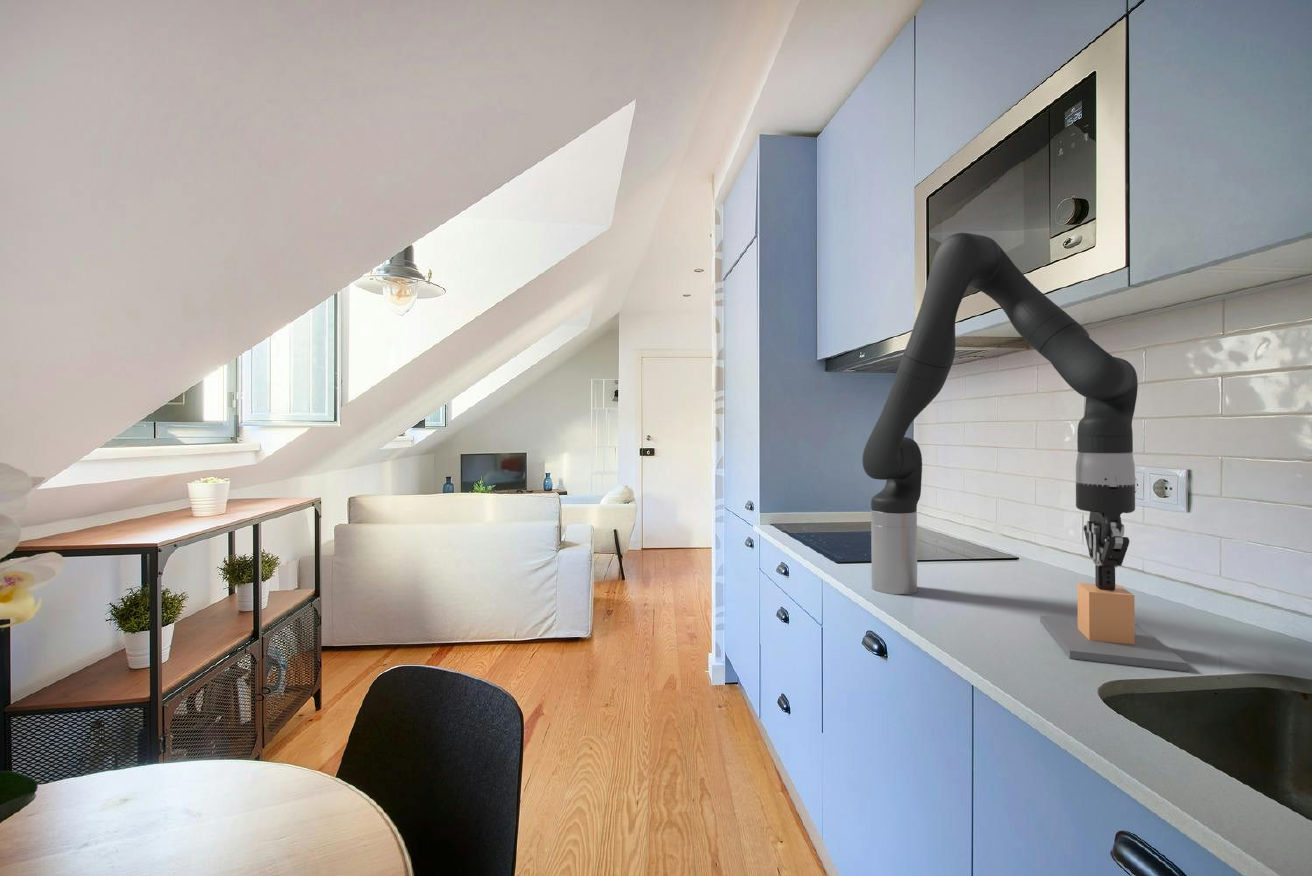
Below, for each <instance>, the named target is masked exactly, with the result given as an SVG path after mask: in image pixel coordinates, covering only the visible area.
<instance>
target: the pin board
mask: <svg viewBox="0 0 1312 876" xmlns="http://www.w3.org/2000/svg"><path fill="white" fill-rule="evenodd" d="M1039 621H1040V623H1041V625H1042V626H1043V627H1044V629H1045V630H1046V631H1047V632H1048V634H1050V636H1051V637H1052V638H1053V640H1054V641H1055V642H1056V643H1057V645H1058V646H1059V647H1060V648H1061V650H1063V652H1064V654H1066V656H1067V657H1068V659H1071V660H1081V661H1082V660H1083V661H1090V662H1096V663H1097V662H1098V663H1106V664H1107V663H1108V664H1114V665H1115V664H1116V665H1123V666H1124V665H1125V666H1134V667H1144V668H1151V669H1161V670H1171V671H1180V672H1186V673H1187V672H1188V668H1189V667H1188V662H1187V661H1185V660H1184V659H1183V658H1182V657H1180V656H1179V655H1178V654H1176V653H1175V652H1174V651H1173V650H1171V648H1170V649H1169V647H1168V646H1166V645H1165V644H1163V642H1161V641H1160V640H1158V638H1156V637H1155V636H1153V635H1152V634H1151V633H1149V632H1148V631H1147V630H1145V629H1144V628H1143V627H1141V625H1139V624H1138V623H1134V630H1135V645H1134V644H1124V643H1114V642H1104V641H1094V640H1089V639H1088V638H1087V637H1086V636H1085V635H1084V634H1083V633H1082V632H1081V631H1080V630H1079V629H1078V617H1067V616H1066V617H1065V616H1053V615H1046V614H1045V615H1043V614H1042V615H1041V614H1040V615H1039Z"/></svg>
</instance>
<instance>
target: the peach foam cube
mask: <svg viewBox="0 0 1312 876" xmlns="http://www.w3.org/2000/svg"><path fill="white" fill-rule="evenodd" d="M1077 618H1078V629H1079V630H1080V631H1081V632H1082V633H1083V634H1084V635H1085V636H1086V637H1087V638H1088V639H1089V640H1094V641H1104V642H1114V643H1124V644H1134V645H1135V630H1134V624H1135V594H1133V593H1132V592H1130V591H1129V590H1127V589H1126V588H1124V587H1123V586H1121V585H1115V590H1114V591H1112V590H1100V589H1099V588H1097V587H1096V584H1095V583H1084V582H1077Z"/></svg>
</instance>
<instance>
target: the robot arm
mask: <svg viewBox="0 0 1312 876" xmlns="http://www.w3.org/2000/svg"><path fill="white" fill-rule="evenodd" d="M968 287H972V288H975V289H977V290H979V291H980V292H981V293H983V294H985V295H986V296H988V297H989V298H991V299H992V300H993V301H994V302H995V303H996V304H998V306H999V307H1000V308H1001V309H1002V310H1003V312H1004V313H1005V315H1006V316H1007V318H1008V320H1009V321H1010V323H1011V325H1012V326H1013V328H1014V329H1015V331H1016V332H1017V333H1018V334H1019V335H1020V337H1022V339H1023V340H1025V341H1026V343H1027V344H1028V345H1030V346H1031V347H1032V348H1033V349H1034V350H1036V351H1037V352H1038V353H1039V354H1040V355H1041V356H1042V357H1043V358H1045V359H1046V360H1047V361H1048V362H1049V363H1050V364H1051V365H1052V366H1053V368H1054V369H1055V370H1056V372H1057V373H1058V374H1059V376H1060V377H1061V378H1062V379H1063V380H1064V382H1066V384H1068V385H1069V387H1071V388H1072V389H1073V390H1074V391H1075V392H1076V393H1077V394H1079V395H1080V396H1082V397H1084V398H1085V406H1084V414H1083V417H1082V418H1081V419H1080V420H1079V422H1078V426H1077V432H1076V433H1077V435H1076V436H1077V440H1076V441H1077V442H1076V443H1077V456H1076V462H1075V507H1076V508H1077V509H1078V510H1079V511H1082V512H1083V511H1084V512H1089V515H1088V516H1089V518H1088V520H1087V521H1086V524H1084V525H1083V531H1084V532H1083V533H1084V536H1085V540H1086V545H1087V549H1088V553H1089V554H1088V555H1089V557H1090V558H1091V559H1092V563H1093V565H1095V566H1094V567H1095V572H1094V573H1095V577H1094V579H1095V583H1094V584H1096V587H1097V588H1099V589H1100V590H1112V591H1114V590H1115V586H1116V568H1118V567H1121V566H1122V565H1123V562H1124V560H1125V557H1126V554H1127V551H1128V548H1129V546H1130V539H1129V537H1128V536H1125V525H1124V524H1123V522H1122V518H1121V514H1131V513H1134V512H1135V511H1136V467H1135V466H1136V465H1135V461H1134V453H1133V451H1134V449H1133V448H1134V447H1133V446H1134V445H1133V444H1134V441H1133V439H1134V438H1133V437H1134V436H1133V419H1134V414H1135V411H1136V410H1135V409H1136V403H1137V398H1138V383H1139V382H1138V381H1139V380H1138V376H1137V375H1138V373H1137V371H1136V369H1135V367H1134V365H1132V364H1131V363H1130V362H1129V361H1128V360H1126V359H1124V358H1121V357H1116V356H1113V355H1111V354H1110V353H1109V352H1108V351H1107V350H1105V349H1104V348H1102V346H1100V345H1099V344H1097V343H1096V342H1095V341H1094V340H1093V339H1091V338H1090V334H1089V333H1088V331H1087V330H1086V328H1084V327H1083V326H1082V324H1080V323H1079V322H1077V320H1075V319H1074V318H1073V317H1072V316H1071V315H1069V314H1068V313H1067V312H1066V311H1065V310H1063V308H1061V307H1059V305H1058V304H1056V303H1055V302H1054V301H1052V300H1051V299H1050V298H1049V297H1048V296H1046V295H1045V294H1044V293H1043V292H1042V291H1041V290H1040V289H1038V288H1037V287H1036V286H1035V285H1034V284H1033V283H1032V282H1031V281H1030V280H1029V279H1028V278H1027V277H1026V276H1025V275H1024V273H1022V271H1020V269H1019V268H1018V267H1017V265H1015V263H1014V262H1013V261H1012V260H1011V258H1010V256H1008V254H1007V253H1006V251H1004V250H1003V248H1002V247H1001V246H1000V245H999V243H997V242H996V240H995V239H993V238H992V237H989V236H985V235H980V234H975V233H969V232H957V233H953V234H951V235H950V236H948V237H947V238H946V239H944V240H943V241H942V242H941V244H940V245H939V246H938V248H937V250H936V252H935V254H934V256H933V259H932V263H931V266H930V270H929V274H928V278H927V282H926V286H925V290H924V294H923V297H922V301H921V304H920V308H919V311H918V313H917V315H916V318H915V322H914V325H913V329H912V331H911V333H910V337H909V339H908V341H907V344H906V346H905V349H904V352H903V354H902V357H901V358H900V362H899V365H898V368H897V371H896V374H895V376H894V380H893V384H892V385H891V388H890V390H889V394H888V396H887V398H886V400H885V403H884V405H883V409H882V410H881V412H880V415H879V417H878V419H877V421H876V423H875V424H874V427H873V428H872V431H871V433H870V435H869V436H868V439H867V441H866V443H865V446H864V448H863V453H862V459H861V460H862V467H863V470H864V472H865V474H866V475H867V476H868V477H870V478H871V479H873V480H881V481H883V480H884V481H885V480H886V482H885V485H884V487H883V489H882V490H881V491H879V492H878V493H876V494H875V495H874V496H872V498H871V499H870V500H871V501H870V513H871V514H870V517H871V519H870V521H871V522H870V523H871V524H870V525H871V529H870V530H871V535H870V536H871V543H870V544H871V547H870V548H871V550H870V551H871V589H873V590H874V591H877V592H880V593H883V594H890V595H899V594H905V595H913V594H916V593H917V592H918V503H919V500H920V499H921V493H922V476H923V456H922V455H923V454H922V452H921V448H920V446H919V445H918V443H917V442H916V441H915V440H914V439H913V438H911V437H908V436H906V435H907V434H906V433H907V431H908V430H909V428H910V425H911V424H912V423H913V421H914V420H915V419H916V418H917V417H918V416H919V415H920V414H921V413H922V412H923V410H924V409H926V408H927V406H929V405H930V403H931V402H932V401H934V399H935V398H936V397H937V396H938V395H939V393H940V392H941V391H942V389H943V387H944V385H945V383H946V381H947V379H948V376H949V373H950V370H951V368H952V366H953V363H954V360H955V355H956V320H957V316H958V315H957V314H958V311H959V308H960V305H961V303H962V300H963V298H964V295H965V294H966V291H967V289H968Z"/></svg>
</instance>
